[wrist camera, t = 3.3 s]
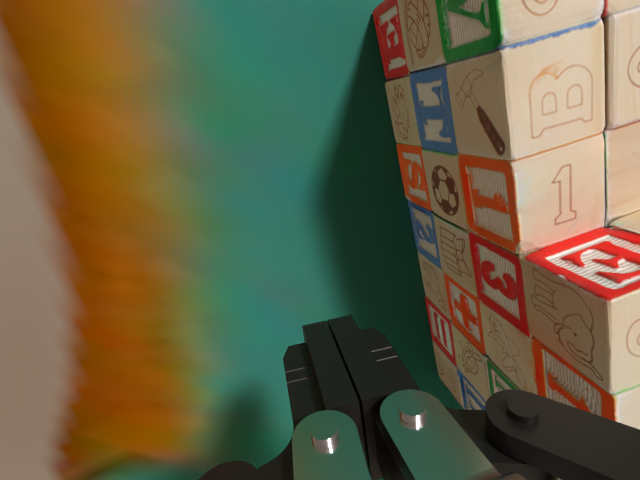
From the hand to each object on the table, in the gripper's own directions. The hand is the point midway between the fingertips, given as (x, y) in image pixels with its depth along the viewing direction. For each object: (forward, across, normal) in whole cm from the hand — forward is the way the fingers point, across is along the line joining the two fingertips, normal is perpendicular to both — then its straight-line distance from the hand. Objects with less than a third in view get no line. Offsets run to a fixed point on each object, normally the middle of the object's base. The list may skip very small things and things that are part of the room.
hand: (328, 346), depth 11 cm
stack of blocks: (+9, -10, 0) cm, 13 cm away
